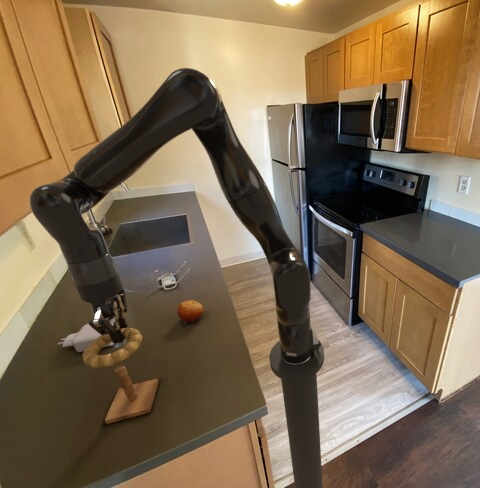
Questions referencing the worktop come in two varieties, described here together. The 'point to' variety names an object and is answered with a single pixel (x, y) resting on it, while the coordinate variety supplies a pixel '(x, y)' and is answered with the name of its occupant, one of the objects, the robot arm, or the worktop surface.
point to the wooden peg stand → (131, 397)
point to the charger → (82, 338)
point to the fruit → (190, 311)
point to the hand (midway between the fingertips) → (121, 336)
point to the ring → (110, 359)
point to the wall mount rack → (169, 279)
